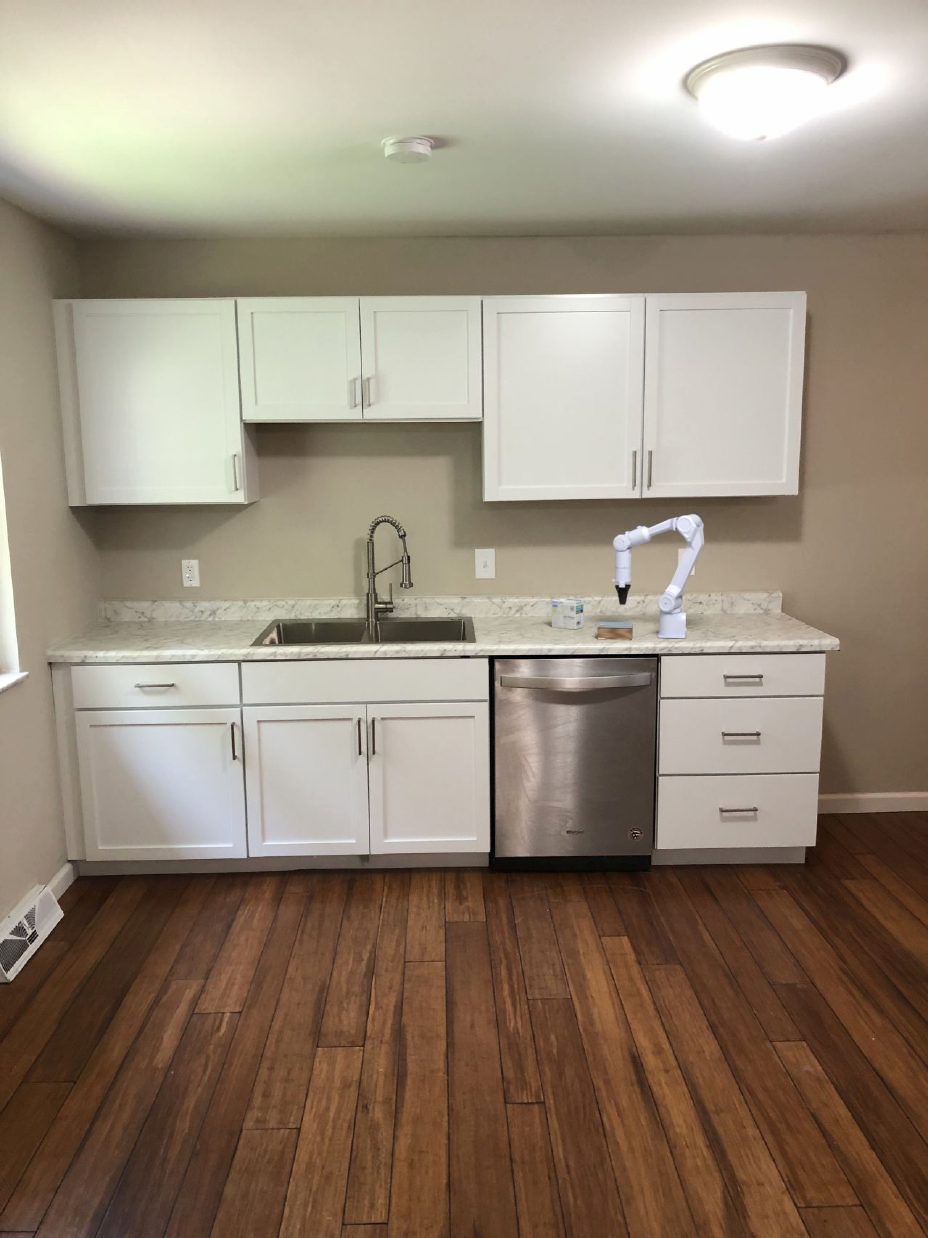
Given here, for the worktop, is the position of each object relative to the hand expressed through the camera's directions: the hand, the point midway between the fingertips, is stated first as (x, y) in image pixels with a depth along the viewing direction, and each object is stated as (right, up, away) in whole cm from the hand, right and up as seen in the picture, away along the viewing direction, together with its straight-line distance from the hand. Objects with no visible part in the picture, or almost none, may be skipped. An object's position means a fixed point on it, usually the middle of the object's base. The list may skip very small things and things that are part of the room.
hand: (622, 604), depth 343 cm
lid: (-4, -8, -9) cm, 13 cm away
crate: (-4, -12, -8) cm, 15 cm away
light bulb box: (-19, -9, +14) cm, 25 cm away
